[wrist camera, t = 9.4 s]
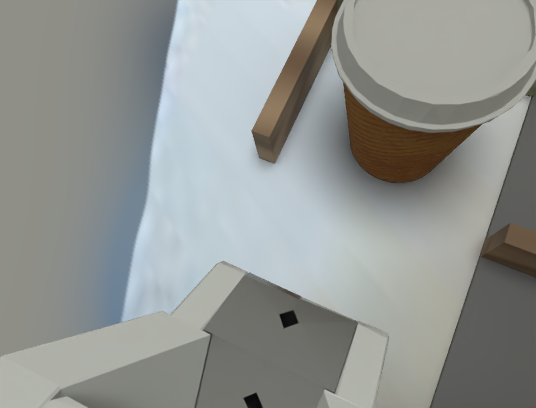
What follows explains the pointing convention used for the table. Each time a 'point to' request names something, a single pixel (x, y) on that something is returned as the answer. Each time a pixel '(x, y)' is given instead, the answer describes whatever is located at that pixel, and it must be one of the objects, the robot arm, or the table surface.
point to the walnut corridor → (294, 94)
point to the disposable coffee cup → (428, 75)
